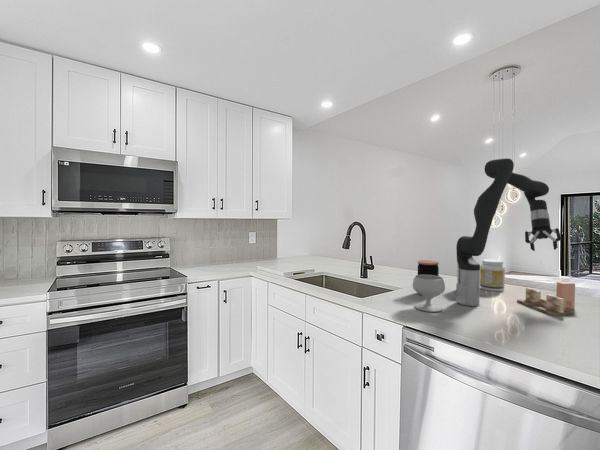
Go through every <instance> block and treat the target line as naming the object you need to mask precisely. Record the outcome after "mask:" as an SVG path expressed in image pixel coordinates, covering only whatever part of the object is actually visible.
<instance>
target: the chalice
mask: <svg viewBox="0 0 600 450" xmlns="http://www.w3.org/2000/svg"><path fill="white" fill-rule="evenodd" d="M412 289H413V290H414V291H415V292H416V293H418V294H419V295H420V294H421V296H422V297H423V298H424V299H425V303H417V304H415V305H414V308H415V309H416V310H419V311H422V312H428V313H429V312H430V313H439V312H441V311H442V312H443V308H442V307H441V306H439V305H437V304H432V303H431V302H432V301H431V300H432V299H433V298H434V297H437V296H440V295H441V294H443V293H444V292H445V290H446V285H445V281H444V278H443V276H440V275H439V276H436V275H425V274H422V275H418V274H416V275H415V276H414V278H413V281H412Z"/></svg>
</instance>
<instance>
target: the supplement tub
mask: <svg viewBox="0 0 600 450" xmlns="http://www.w3.org/2000/svg"><path fill="white" fill-rule="evenodd" d="M505 279H506V268H505V266H504V261H503V260H500V259H491V258H490V259H487V258H486V259H482V261H481V265H480V289H482V290H485V291H489V292H496V293H497V292H502V291H504V290H505V287H506V285H505V282H506V281H505Z"/></svg>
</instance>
